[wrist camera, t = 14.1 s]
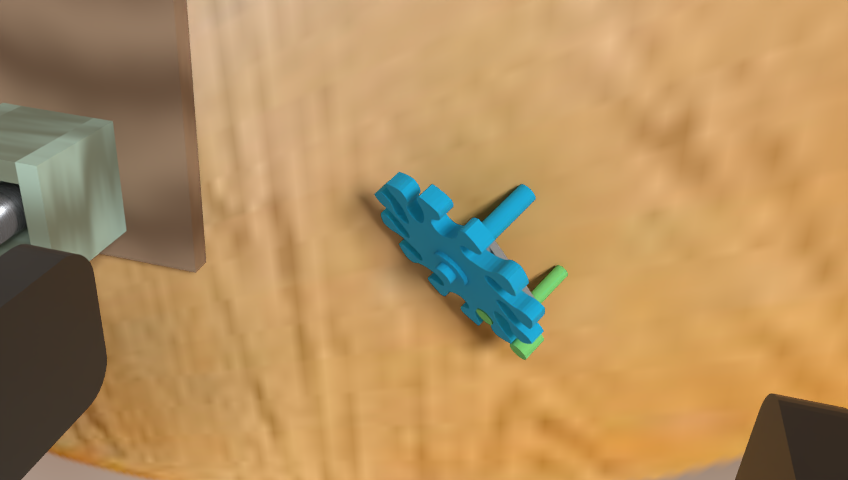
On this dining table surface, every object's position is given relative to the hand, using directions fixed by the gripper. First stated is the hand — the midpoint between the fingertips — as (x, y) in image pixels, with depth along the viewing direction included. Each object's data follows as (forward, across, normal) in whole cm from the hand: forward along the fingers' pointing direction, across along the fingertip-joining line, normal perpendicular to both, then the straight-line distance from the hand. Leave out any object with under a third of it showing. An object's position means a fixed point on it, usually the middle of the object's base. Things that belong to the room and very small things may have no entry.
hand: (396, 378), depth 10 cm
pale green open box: (+27, +25, +13) cm, 39 cm away
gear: (+28, +3, +13) cm, 31 cm away
